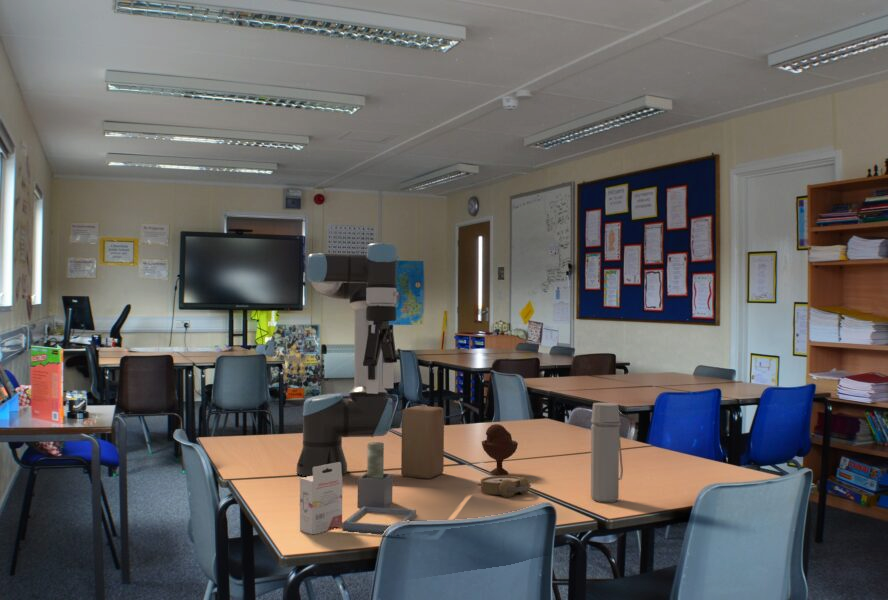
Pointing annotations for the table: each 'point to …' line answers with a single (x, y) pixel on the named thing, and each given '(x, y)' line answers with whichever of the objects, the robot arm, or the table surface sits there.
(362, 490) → the pot
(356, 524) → the tray
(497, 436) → the ice cream bowl
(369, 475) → the dowel
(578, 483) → the table surface
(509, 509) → the table surface
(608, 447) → the water bottle
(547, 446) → the table surface
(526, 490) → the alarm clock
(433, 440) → the wooden block
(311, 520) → the ink cartridge box
